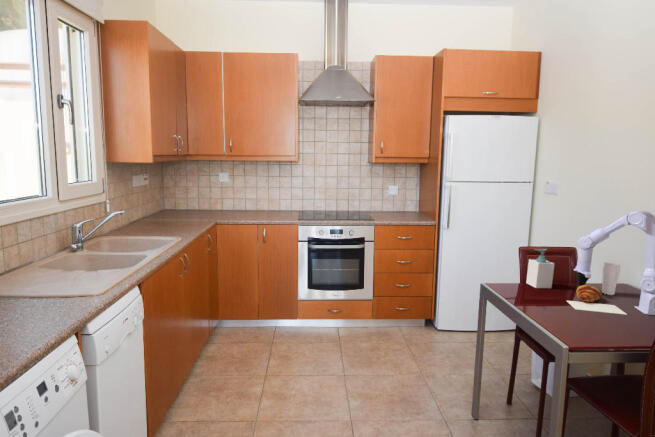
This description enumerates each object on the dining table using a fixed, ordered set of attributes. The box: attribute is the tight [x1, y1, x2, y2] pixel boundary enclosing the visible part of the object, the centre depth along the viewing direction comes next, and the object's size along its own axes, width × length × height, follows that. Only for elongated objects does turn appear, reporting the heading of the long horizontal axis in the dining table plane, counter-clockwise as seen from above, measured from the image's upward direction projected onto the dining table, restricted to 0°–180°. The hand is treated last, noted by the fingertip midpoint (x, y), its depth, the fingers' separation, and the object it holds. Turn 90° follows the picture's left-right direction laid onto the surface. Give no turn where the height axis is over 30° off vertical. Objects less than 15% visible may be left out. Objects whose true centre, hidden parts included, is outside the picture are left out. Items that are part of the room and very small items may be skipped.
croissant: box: [575, 284, 603, 303], centre depth 202 cm, size 21×10×8 cm, turn 141°
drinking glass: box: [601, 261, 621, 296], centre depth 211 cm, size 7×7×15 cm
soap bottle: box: [525, 248, 555, 289], centre depth 220 cm, size 9×9×19 cm
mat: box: [565, 300, 628, 316], centre depth 191 cm, size 12×20×1 cm, turn 79°
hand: (580, 288), depth 212 cm, fingers closed
